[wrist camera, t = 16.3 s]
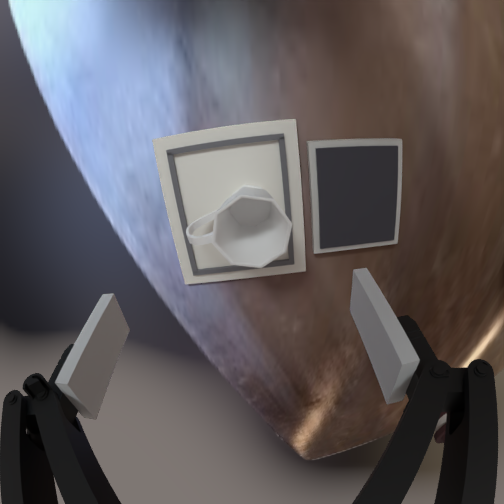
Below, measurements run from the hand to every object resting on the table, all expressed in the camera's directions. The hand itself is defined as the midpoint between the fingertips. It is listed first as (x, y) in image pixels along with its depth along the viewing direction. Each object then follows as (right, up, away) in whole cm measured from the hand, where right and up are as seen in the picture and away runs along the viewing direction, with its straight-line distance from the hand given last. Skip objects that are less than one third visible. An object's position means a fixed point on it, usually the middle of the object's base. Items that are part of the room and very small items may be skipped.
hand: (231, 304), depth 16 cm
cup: (-1, +8, +17) cm, 19 cm away
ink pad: (+13, +9, +17) cm, 23 cm away
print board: (-1, +8, +18) cm, 19 cm away
